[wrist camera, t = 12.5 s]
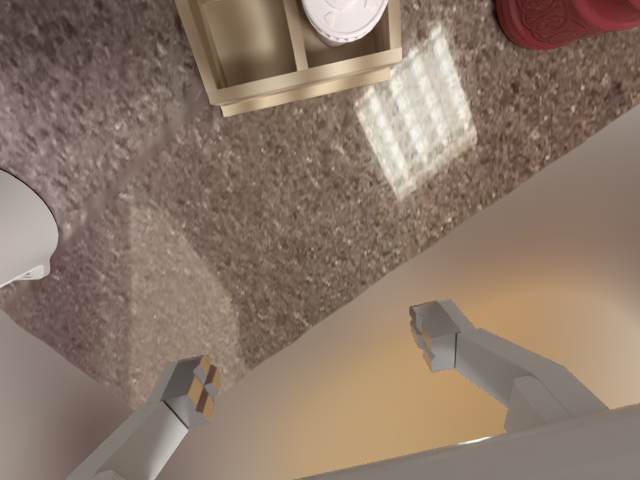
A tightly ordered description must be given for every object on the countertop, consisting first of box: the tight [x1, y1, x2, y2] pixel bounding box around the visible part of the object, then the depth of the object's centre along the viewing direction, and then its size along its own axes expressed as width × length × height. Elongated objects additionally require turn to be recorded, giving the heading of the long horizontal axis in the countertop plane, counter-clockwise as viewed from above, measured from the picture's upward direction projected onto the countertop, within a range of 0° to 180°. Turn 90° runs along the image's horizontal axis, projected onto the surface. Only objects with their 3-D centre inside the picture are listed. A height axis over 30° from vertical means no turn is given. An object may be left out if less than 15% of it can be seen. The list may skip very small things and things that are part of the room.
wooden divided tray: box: [174, 0, 402, 117], centre depth 24 cm, size 19×12×6 cm, turn 102°
